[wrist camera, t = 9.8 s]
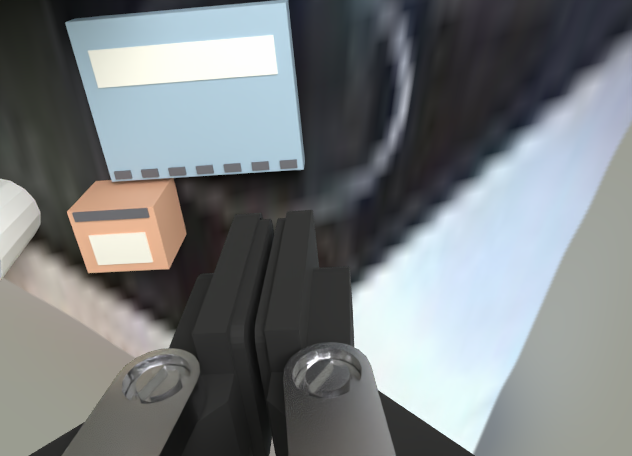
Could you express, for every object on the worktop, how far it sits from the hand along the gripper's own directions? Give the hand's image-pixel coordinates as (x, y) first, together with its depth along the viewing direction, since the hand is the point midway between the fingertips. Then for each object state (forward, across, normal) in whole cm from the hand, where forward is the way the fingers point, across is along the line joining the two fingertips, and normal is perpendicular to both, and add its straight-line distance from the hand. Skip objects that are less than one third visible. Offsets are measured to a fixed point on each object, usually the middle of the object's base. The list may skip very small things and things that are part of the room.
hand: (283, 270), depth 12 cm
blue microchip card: (+27, +9, +3) cm, 29 cm away
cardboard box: (+27, +15, +12) cm, 33 cm away
